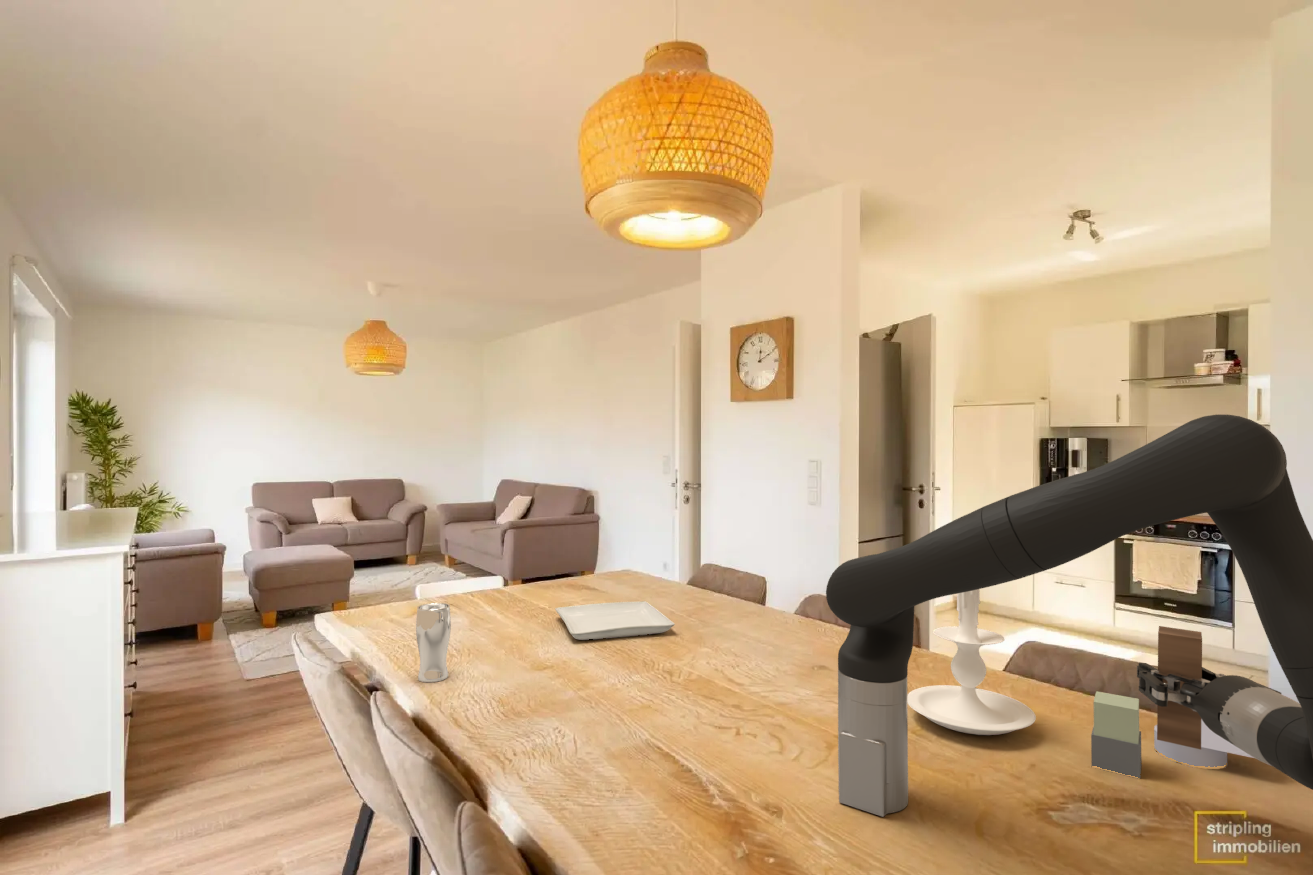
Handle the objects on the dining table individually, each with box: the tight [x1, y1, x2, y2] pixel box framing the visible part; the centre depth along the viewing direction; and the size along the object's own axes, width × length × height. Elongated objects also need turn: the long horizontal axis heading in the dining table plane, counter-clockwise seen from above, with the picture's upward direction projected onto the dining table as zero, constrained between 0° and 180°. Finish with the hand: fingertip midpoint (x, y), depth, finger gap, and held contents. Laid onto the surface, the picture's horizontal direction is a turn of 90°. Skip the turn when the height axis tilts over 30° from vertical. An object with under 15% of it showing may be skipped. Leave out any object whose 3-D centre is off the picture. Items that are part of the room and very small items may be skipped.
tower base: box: [1090, 725, 1142, 779], centre depth 103 cm, size 6×6×5 cm
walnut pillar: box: [1156, 625, 1203, 750], centre depth 89 cm, size 4×4×14 cm
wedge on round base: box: [1153, 719, 1255, 767], centre depth 105 cm, size 9×7×13 cm
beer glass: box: [415, 602, 452, 683], centre depth 142 cm, size 7×7×15 cm
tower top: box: [1093, 690, 1140, 744], centre depth 103 cm, size 6×6×5 cm
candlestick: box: [907, 589, 1037, 736], centre depth 121 cm, size 21×25×28 cm
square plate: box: [554, 600, 676, 641], centre depth 183 cm, size 27×27×4 cm
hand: (1168, 671), depth 92 cm, fingers closed on walnut pillar, 6 cm apart
